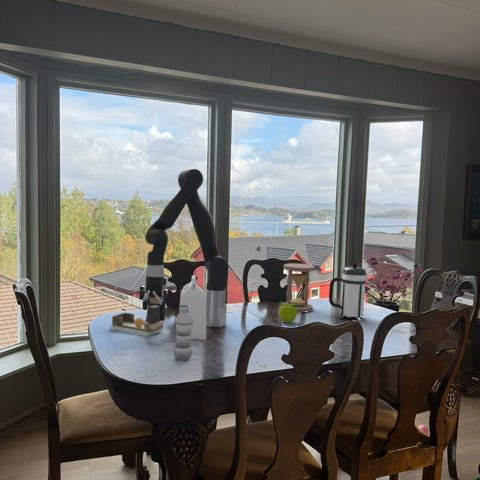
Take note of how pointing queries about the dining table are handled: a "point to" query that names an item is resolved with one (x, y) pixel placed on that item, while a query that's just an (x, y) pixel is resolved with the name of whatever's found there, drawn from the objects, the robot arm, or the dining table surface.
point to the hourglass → (299, 279)
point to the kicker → (153, 319)
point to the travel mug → (155, 302)
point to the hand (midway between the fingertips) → (153, 311)
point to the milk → (195, 307)
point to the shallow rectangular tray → (134, 329)
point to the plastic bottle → (183, 334)
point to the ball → (139, 322)
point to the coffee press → (351, 291)
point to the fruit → (287, 312)
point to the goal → (122, 319)
